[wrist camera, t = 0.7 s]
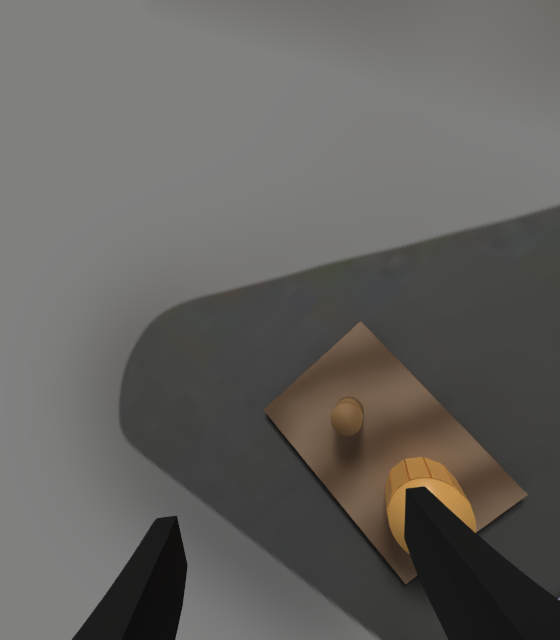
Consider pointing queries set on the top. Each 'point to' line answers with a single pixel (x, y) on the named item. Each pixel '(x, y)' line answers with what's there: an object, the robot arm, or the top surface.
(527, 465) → the top surface
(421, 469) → the grooved orange cylinder
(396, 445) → the post board
